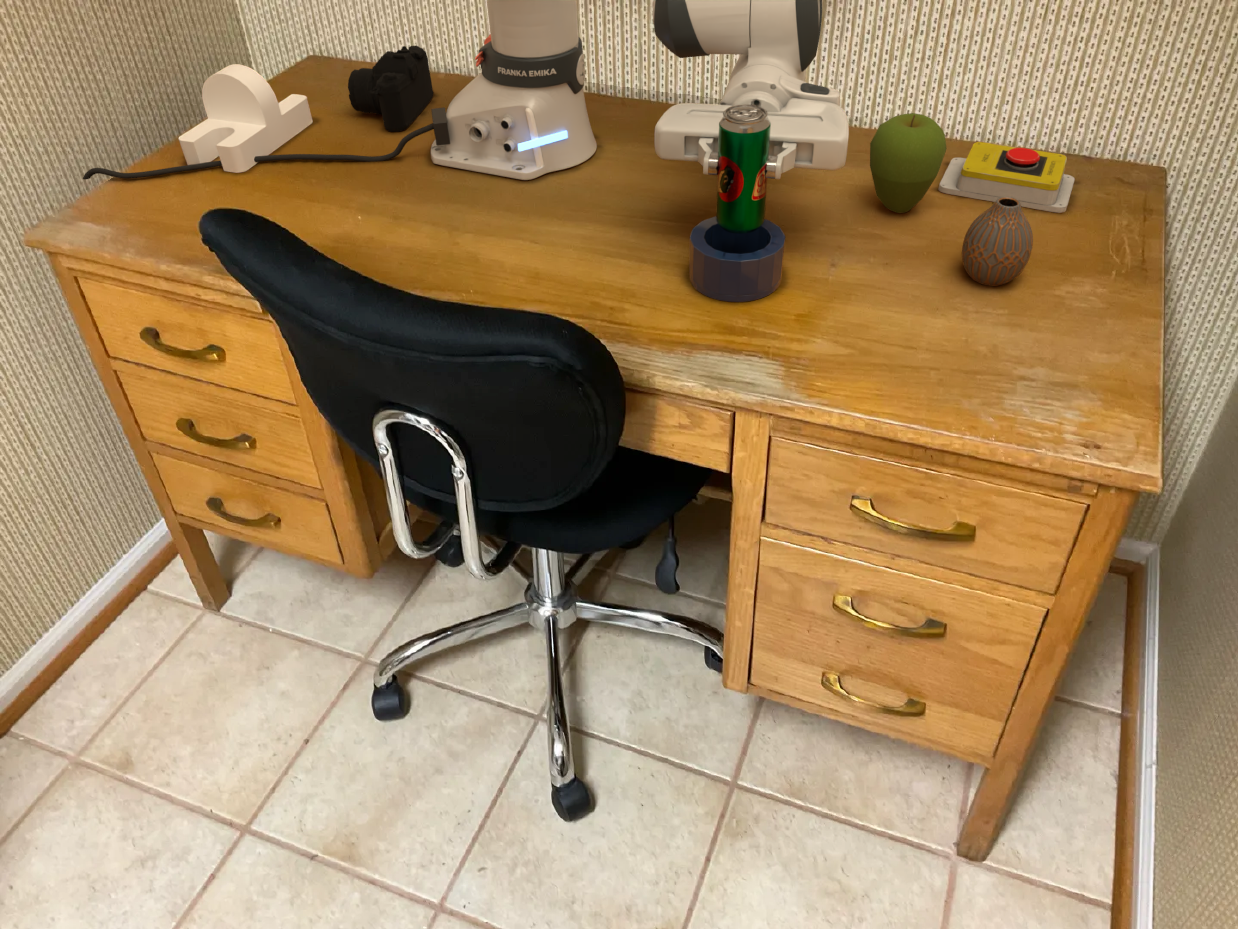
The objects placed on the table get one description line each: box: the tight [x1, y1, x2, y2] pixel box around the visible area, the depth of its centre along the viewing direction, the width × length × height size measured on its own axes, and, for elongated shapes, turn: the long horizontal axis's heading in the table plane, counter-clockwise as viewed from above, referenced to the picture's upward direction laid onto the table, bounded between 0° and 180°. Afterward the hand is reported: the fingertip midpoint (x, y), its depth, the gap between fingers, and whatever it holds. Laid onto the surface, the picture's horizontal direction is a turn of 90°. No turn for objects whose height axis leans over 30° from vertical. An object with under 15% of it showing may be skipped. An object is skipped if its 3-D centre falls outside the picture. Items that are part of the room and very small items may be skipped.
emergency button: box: [938, 141, 1076, 214], centre depth 119 cm, size 9×4×15 cm
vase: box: [961, 197, 1034, 287], centre depth 102 cm, size 7×7×9 cm
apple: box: [869, 112, 948, 214], centre depth 113 cm, size 9×8×12 cm
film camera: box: [347, 45, 435, 133], centre depth 141 cm, size 15×10×9 cm, turn 169°
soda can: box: [715, 104, 771, 234], centre depth 98 cm, size 5×5×12 cm
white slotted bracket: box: [178, 63, 313, 174], centre depth 134 cm, size 10×18×10 cm, turn 161°
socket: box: [688, 215, 786, 303], centre depth 105 cm, size 10×10×5 cm
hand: (741, 170), depth 97 cm, fingers closed on soda can, 5 cm apart
